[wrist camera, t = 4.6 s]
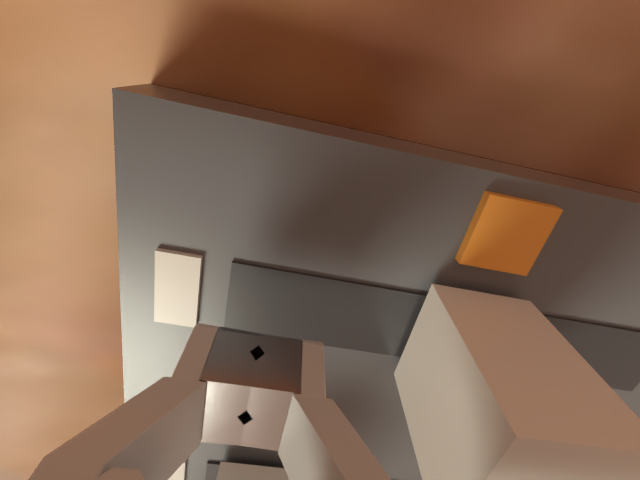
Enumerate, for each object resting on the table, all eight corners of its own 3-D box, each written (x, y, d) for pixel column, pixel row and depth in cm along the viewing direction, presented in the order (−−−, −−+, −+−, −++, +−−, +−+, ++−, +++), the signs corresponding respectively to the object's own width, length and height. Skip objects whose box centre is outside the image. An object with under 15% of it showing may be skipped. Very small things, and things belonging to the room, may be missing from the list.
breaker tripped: (530, 301, 10) (675, 456, 6) (480, 386, 12) (570, 556, 8) (431, 283, 10) (516, 436, 6) (394, 373, 11) (439, 545, 7)
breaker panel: (769, 221, 12) (867, 255, 10) (522, 515, 20) (547, 568, 17) (149, 83, 9) (105, 88, 7) (148, 477, 17) (126, 533, 15)
